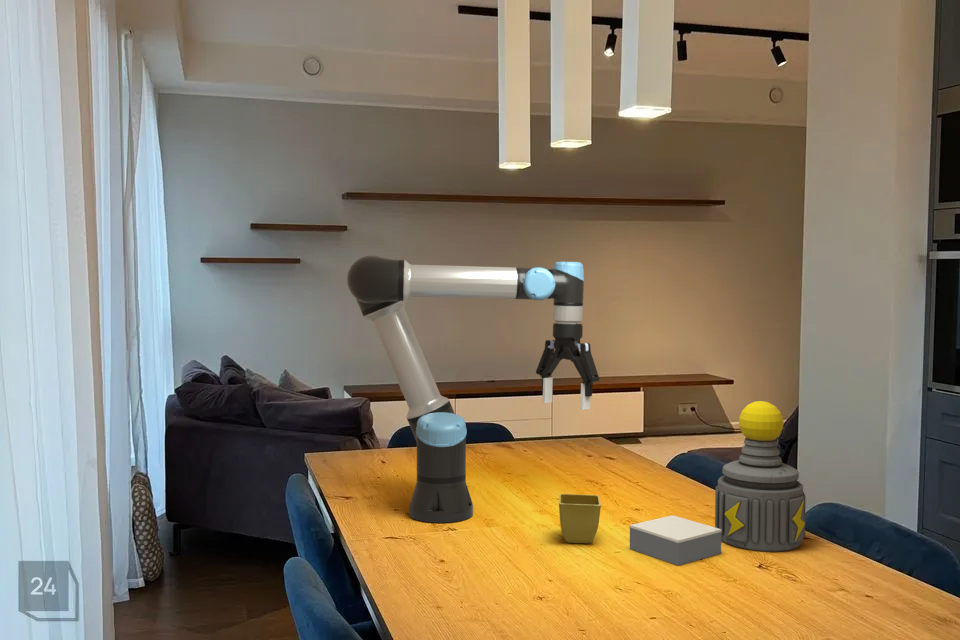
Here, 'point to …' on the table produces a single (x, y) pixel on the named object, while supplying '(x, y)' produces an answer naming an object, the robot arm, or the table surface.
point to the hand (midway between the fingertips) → (565, 406)
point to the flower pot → (579, 517)
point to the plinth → (675, 539)
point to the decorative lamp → (760, 489)
